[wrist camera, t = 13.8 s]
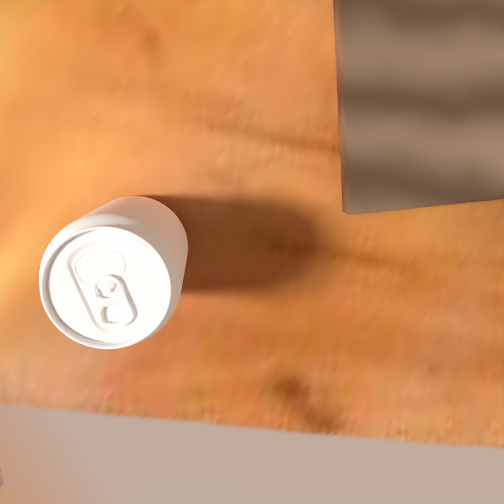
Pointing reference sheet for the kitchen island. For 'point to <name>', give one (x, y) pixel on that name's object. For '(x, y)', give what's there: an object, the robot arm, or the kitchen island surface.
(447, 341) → the kitchen island surface
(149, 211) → the beverage can
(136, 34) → the kitchen island surface
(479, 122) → the shelf board
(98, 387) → the kitchen island surface
